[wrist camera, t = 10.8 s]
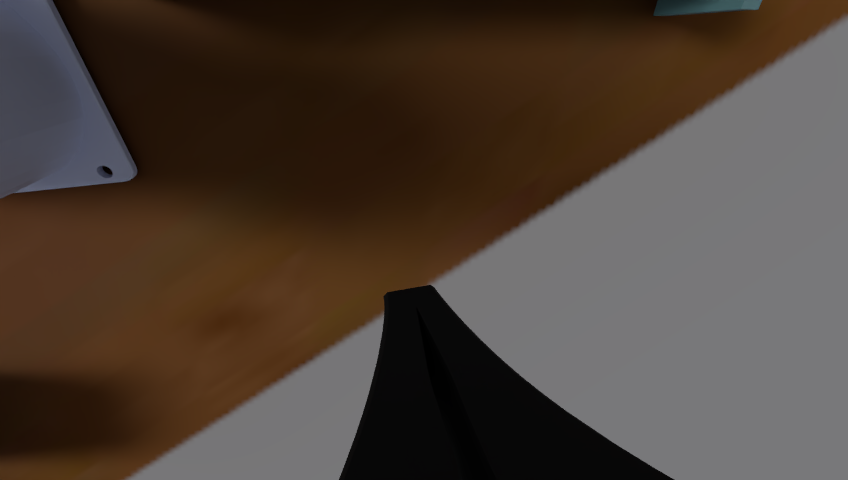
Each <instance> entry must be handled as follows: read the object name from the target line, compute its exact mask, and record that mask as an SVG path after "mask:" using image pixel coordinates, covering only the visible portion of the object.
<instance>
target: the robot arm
mask: <svg viewBox="0 0 848 480" xmlns="http://www.w3.org/2000/svg"><path fill="white" fill-rule="evenodd" d="M102 166H106V167H108V168H110V169H111V170H112V173H113V175H110V174H108V173H106V172H105V171H104V170H103V167H102ZM136 175H137V167H136V165H135V163H134V161H133V159H132V157H131V155H130V153H129V151H128V149H127V147H126V145H125V143H124V141H123V139H122V137H121V135H120V133H119V131H118V129H117V127H116V125H115V123H114V121H113V119H112V117H111V115H110V113H109V112H108V110H107V108H106V106H105V104H104V102H103V100H102V98H101V96H100V94H99V92H98V90H97V88H96V86H95V84H94V82H93V80H92V78H91V76H90V74H89V72H88V70H87V68H86V66H85V64H84V62H83V60H82V58H81V56H80V54H79V52H78V50H77V48H76V46H75V44H74V42H73V40H72V38H71V36H70V34H69V32H68V30H67V28H66V26H65V24H64V22H63V20H62V18H61V16H60V14H59V12H58V10H57V8H56V6H55V4H54V2H53V0H0V199H1V198H3V197H5V196H7V195H9V194H11V193H20V192H29V191H39V190H49V189H58V188H68V187H78V186H87V185H97V184H107V183H116V182H125V181H129V180H131V179H132V178H134V177H135V176H136ZM384 305H385V311H384V324H383V332H382V338H381V343H380V349H379V355H378V359H377V364H376V368H375V372H374V376H373V379H372V384H371V387H370V391H369V395H368V398H367V402H366V405H365V408H364V411H363V415H362V418H361V421H360V424H359V427H358V430H357V433H356V436H355V438H354V441H353V444H352V446H351V449H350V452H349V455H348V458H347V460H346V463H345V465H344V468H343V471H342V473H341V476H340V478H339V480H674V479H672V478H670V477H669V476H667V475H665V474H663V473H662V472H660V471H658V470H657V469H655V468H653V467H652V466H650V465H648V464H647V463H645V462H643V461H642V460H640V459H639V458H637V457H635V456H634V455H632V454H630V453H629V452H627V451H626V450H624V449H622V448H621V447H619V446H617V445H616V444H614V443H613V442H611V441H610V440H608V439H607V438H605V437H604V436H602V435H601V434H599V433H598V432H596V431H595V430H593V429H592V428H590V427H589V426H588V425H586V424H585V423H583V422H582V421H580V420H579V419H577V418H576V417H574V416H573V415H571V414H570V413H568V412H567V411H565V410H564V409H563V408H561V407H560V406H559V405H557V404H556V403H555V402H553V401H552V400H550V399H549V398H548V397H547V396H545V395H544V394H543V393H541V392H540V391H539V390H537V389H536V388H535V387H534V386H532V385H531V384H530V383H529V382H527V381H526V380H525V379H524V378H522V377H521V376H520V375H519V374H518V373H516V372H515V371H514V370H513V369H512V368H511V367H510V366H508V365H507V364H506V363H505V362H504V361H503V360H502V359H501V358H500V357H498V356H497V355H496V354H495V353H494V352H493V351H492V350H491V349H490V348H489V347H488V346H487V345H486V344H484V343H483V342H482V341H481V340H480V339H479V338H478V337H477V336H476V335H475V333H473V332H472V330H471V329H469V327H467V325H466V324H464V322H463V321H462V320H461V319H460V318H459V317H458V316H457V314H456V313H455V312H454V311H453V310H452V309H451V308H450V307H449V305H448V304H447V303H446V302H445V301H444V300H443V298H442V297H441V296H440V294H439V293H438V292H437V290H436V289H435V288H434V287H433V286H431V285H427V286H421V287H415V288H410V289H404V290H398V291H392V292H387V293H386V294H385V295H384Z"/></svg>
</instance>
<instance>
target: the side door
mask: <svg viewBox="0 0 848 480" xmlns="http://www.w3.org/2000/svg"><path fill="white" fill-rule="evenodd" d="M761 2H762V0H658V1H657V5H656V8H655V11H654V15H653V16H674V15H688V14H702V13H717V12H731V11H745V10H758V9H759V6H760V4H761Z"/></svg>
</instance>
